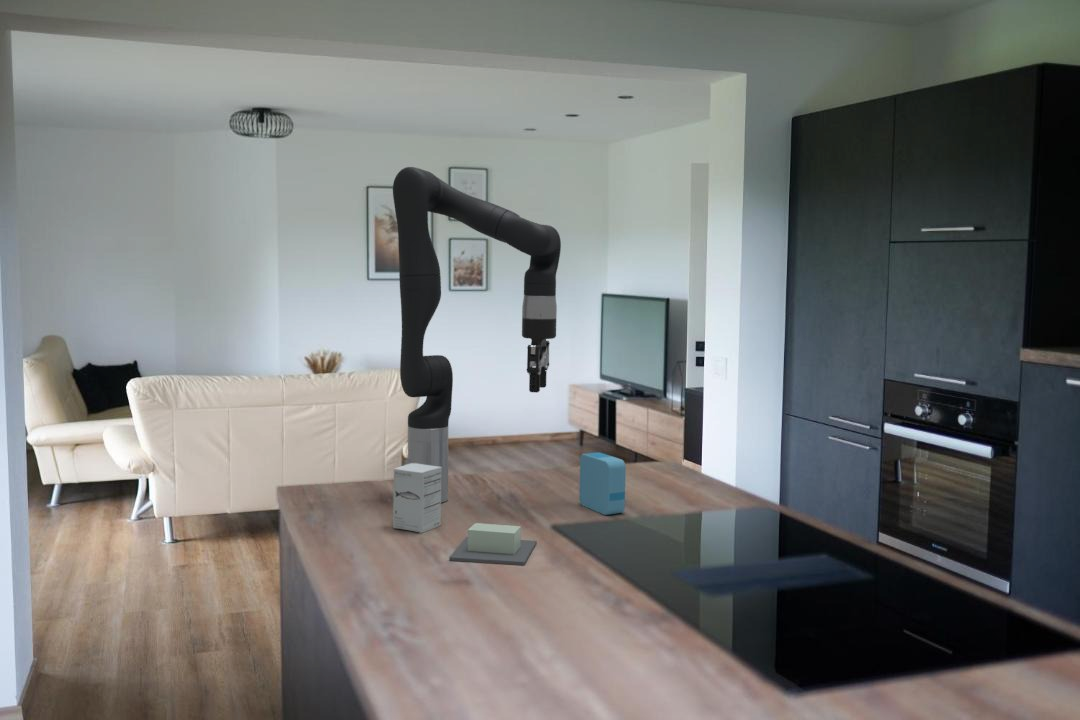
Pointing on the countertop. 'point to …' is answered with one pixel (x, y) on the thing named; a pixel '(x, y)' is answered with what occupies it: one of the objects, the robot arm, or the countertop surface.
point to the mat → (494, 554)
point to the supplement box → (417, 497)
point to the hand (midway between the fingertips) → (537, 389)
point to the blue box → (602, 483)
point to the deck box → (494, 538)
